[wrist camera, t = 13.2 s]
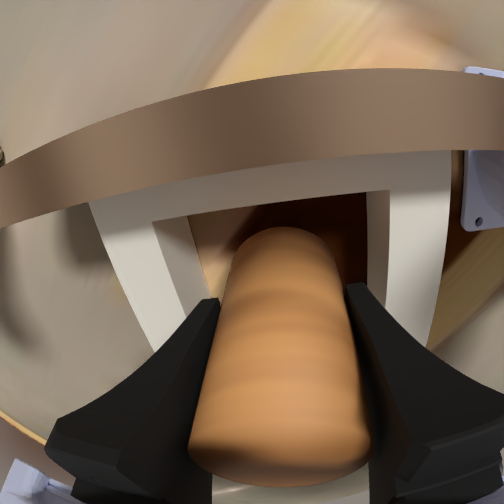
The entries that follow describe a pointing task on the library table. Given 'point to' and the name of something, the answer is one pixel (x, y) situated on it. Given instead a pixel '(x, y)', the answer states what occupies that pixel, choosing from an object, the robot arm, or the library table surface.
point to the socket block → (277, 190)
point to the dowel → (282, 370)
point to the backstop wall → (257, 132)
